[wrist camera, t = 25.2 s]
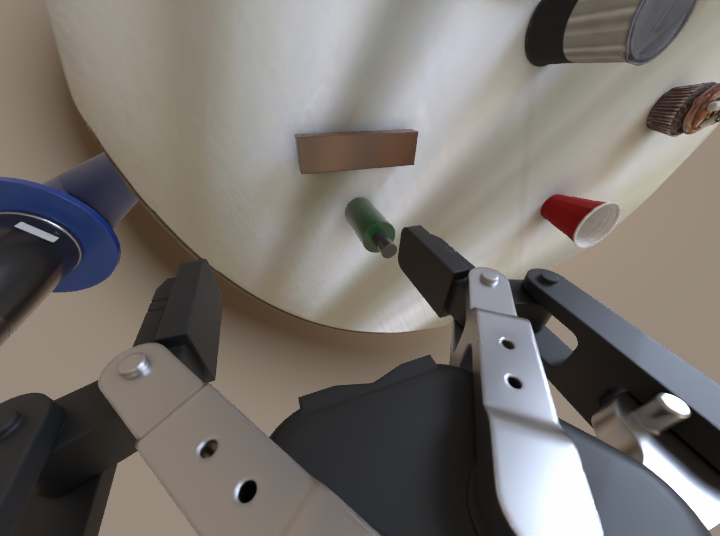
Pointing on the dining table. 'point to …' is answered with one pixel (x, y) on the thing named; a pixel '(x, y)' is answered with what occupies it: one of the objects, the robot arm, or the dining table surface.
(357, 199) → the green bottle
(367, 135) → the brush
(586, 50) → the milk frother
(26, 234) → the robot arm
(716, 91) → the cupcake
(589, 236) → the plastic cup
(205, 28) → the dining table surface
